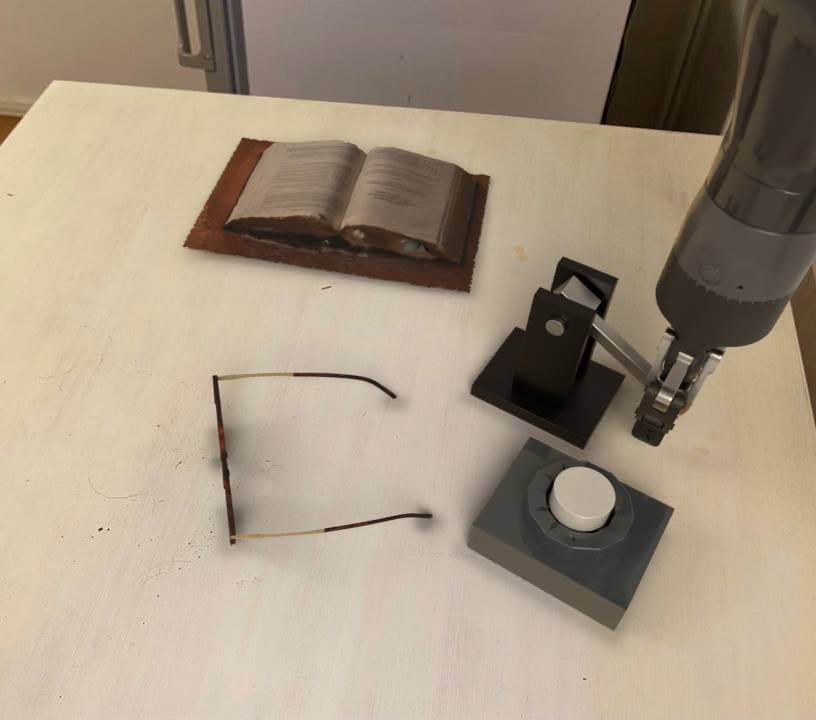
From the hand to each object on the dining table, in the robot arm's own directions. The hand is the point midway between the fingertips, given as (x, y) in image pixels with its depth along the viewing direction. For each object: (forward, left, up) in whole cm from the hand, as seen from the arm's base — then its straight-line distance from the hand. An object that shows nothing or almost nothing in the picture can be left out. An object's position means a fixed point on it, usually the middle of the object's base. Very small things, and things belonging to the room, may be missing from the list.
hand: (654, 421), depth 63 cm
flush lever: (+5, 0, +4) cm, 6 cm away
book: (+36, -10, -2) cm, 37 cm away
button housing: (+2, +12, -2) cm, 12 cm away
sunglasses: (+20, +17, -2) cm, 26 cm away
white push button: (+2, +12, +3) cm, 12 cm away
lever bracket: (+9, 0, -2) cm, 9 cm away
